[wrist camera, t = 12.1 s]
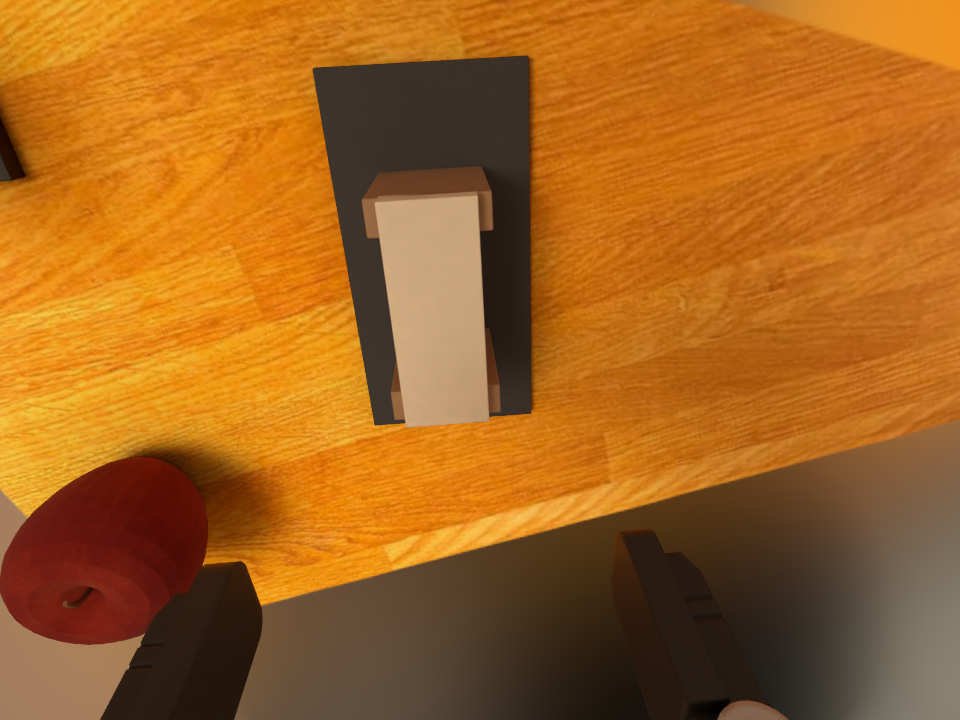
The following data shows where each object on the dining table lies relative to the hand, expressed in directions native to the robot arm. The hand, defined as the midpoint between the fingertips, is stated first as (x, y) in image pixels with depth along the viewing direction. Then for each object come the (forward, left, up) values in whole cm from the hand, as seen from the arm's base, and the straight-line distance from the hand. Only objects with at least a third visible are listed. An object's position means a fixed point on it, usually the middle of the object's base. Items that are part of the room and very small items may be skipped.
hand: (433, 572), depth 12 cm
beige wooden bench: (0, 0, -20) cm, 20 cm away
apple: (+14, -20, -21) cm, 32 cm away
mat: (0, 0, -21) cm, 21 cm away
